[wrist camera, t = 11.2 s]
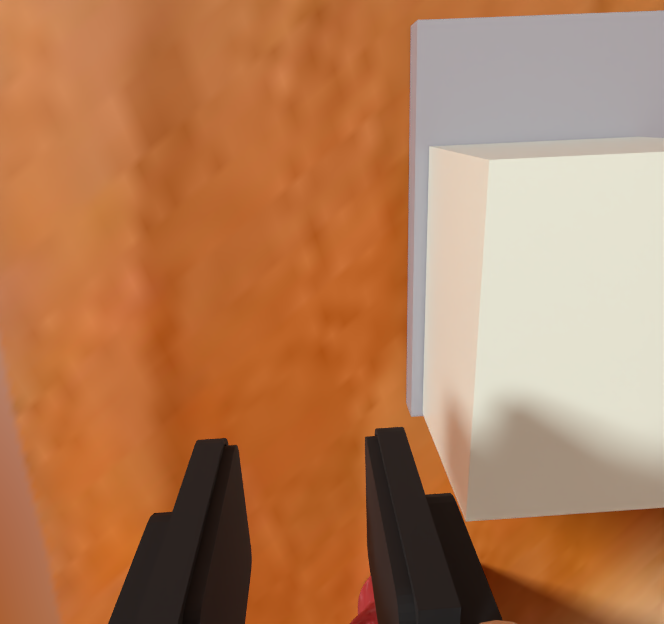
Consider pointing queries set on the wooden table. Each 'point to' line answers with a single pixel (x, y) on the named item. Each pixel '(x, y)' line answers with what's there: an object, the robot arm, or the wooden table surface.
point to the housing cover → (547, 325)
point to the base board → (521, 104)
